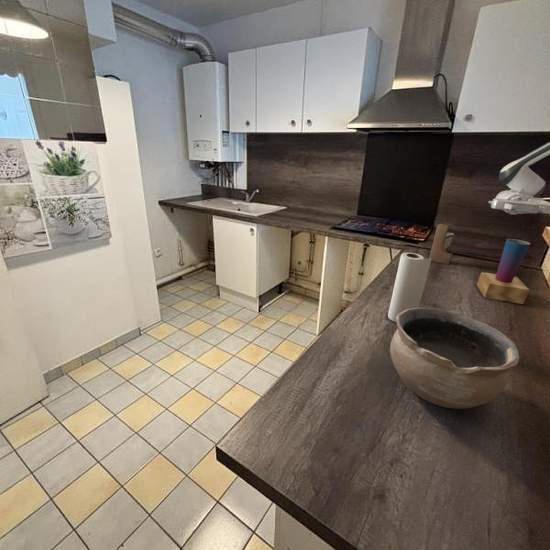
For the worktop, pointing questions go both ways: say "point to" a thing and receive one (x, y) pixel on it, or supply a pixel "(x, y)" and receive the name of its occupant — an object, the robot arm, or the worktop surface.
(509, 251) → the cup
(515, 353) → the ceramic bowl
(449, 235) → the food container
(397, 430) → the worktop surface
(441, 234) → the wooden block
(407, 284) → the paper towel roll
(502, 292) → the riser
